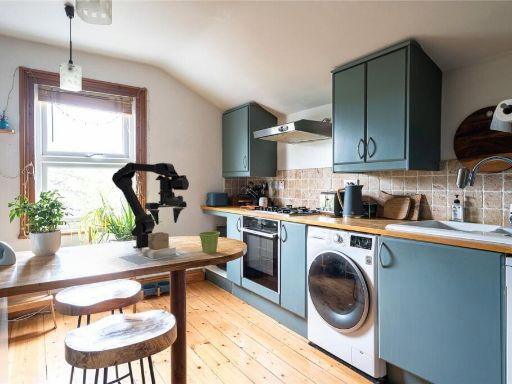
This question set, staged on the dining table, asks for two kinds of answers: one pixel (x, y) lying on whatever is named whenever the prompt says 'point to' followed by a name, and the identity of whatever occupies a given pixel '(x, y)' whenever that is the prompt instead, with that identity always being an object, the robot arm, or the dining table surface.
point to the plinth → (158, 252)
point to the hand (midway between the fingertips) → (166, 223)
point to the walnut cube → (158, 240)
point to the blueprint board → (143, 259)
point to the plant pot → (209, 241)
